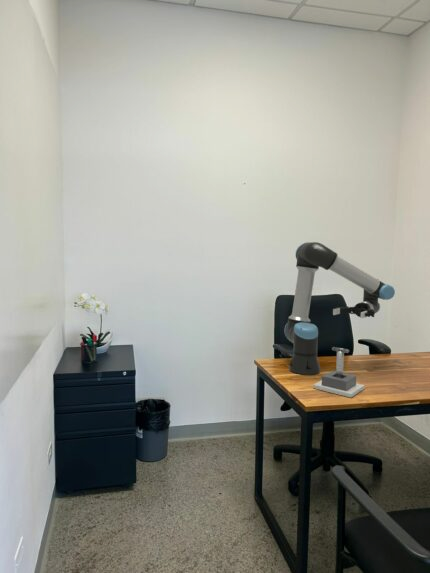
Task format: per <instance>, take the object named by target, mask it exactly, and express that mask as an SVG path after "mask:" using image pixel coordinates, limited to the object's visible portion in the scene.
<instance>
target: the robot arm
mask: <svg viewBox="0 0 430 573" xmlns="http://www.w3.org/2000/svg"><path fill="white" fill-rule="evenodd" d="M295 258H296V265H295V267H296V268H297V270H298V271H297V279H296V284H295V291H294V299H293V304H292V305H293V306H292V310H291V311H292V312H291V314H290V316H288V319H287V322H286V324H285V326H284V329H283V330H284V335H285V336H284V337H286V339H287V340H288V341H289V342H290V343H292V344H293V352H292V353H293V354H292V357H291V360H290V363H289V367H288V370H289V371H290V372H291V373H294V374H298V375H304V376H305V375H306V376H311V375H312V376H313V375H318V374H320V372H321V365H320V363H319V359H318V358H319V357H318V339H319V338H318V337H319V328H318V327H317V325H315V324H314V323H311V319H310V318H309V315H310V307H311V301H312V300H311V299H312V293H313V288H314V281H315V275H316V272H317V271H319V267H320V268H322V269H324V270H326V271H331V272H334V273H335V274H337V275H339V276H340V277H342V278H344V279H345V280H347V281H349V282H351V283H352V284H354V285H356V286H358V287H360V288H361V289H362V290H363V297H362V301H361V302H358V303H357V304H355V305H354V306H341V307H340V306H339V307H338V306H337V307H335V306H334V307H333V309H332V315H333V316H336V315H337V316H338V315H340V314H349V315H356V316H357V317H358V318H360V319H364V318H367V317H368V318H369V317H371V318H375V314H377V313H378V312H379V311H380V309H381V304H380V303H379V299H380V300H381V299H382V300H385V301H388V300H391V299H393V298H394V297H395V292H396V291H395V288H394V286H392V285H390V284H386V283H384V282H383V281H381V280H379V279H378V278H376V277H374V276H372V275H371V274H369V273H367V272H365V271H364V270H362V269H361V268H359V267H357V266H355V265H353V264H351V263H350V262H348V261H347V260H345V259H344V258H342V257H340V256H339V254H338V253H337V252H335V251H334V250H332V249H331V248H329V247H328V246H326V245H324V244H322V243H320V242H315V241H313V242H312V241H311V242H309V241H308V242H304V243H302V244H300V245H299V246H298V247H297V249H296V250H295Z"/></svg>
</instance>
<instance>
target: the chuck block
mask: <svg viewBox="0 0 430 573" xmlns="http://www.w3.org/2000/svg"><path fill="white" fill-rule="evenodd" d="M365 386H366V385H365V384H361V383H358V382H357V375H354V374H350V373H344V372H343V379H342V378H338V377H336V370H331V371H329V372H327V373H325V374H323V375H322V376H321V380H319V381H318V382H316V383H313V384H312V388H313V389H316V390H320V391H324V392H327V393H331V394H334V395H335V394H336V395H340V396H343V397H347V398H352V397H353V398H354V396H356V395H357V394H358V393H360V392H361V391H363V390H364V389H365Z"/></svg>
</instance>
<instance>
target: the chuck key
mask: <svg viewBox="0 0 430 573" xmlns="http://www.w3.org/2000/svg"><path fill="white" fill-rule="evenodd" d="M331 350H332V351H334V352H336V361H335V364H336V365H335V366H336V367H335V371H336V377H338V378H342V379H343V373H344V366H345V365H344V362H345V359H344V358H345V353H346V354H348V353H349V352H350V349H348V348H343V347H337V346H336V347H335V346H332V347H331Z"/></svg>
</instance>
